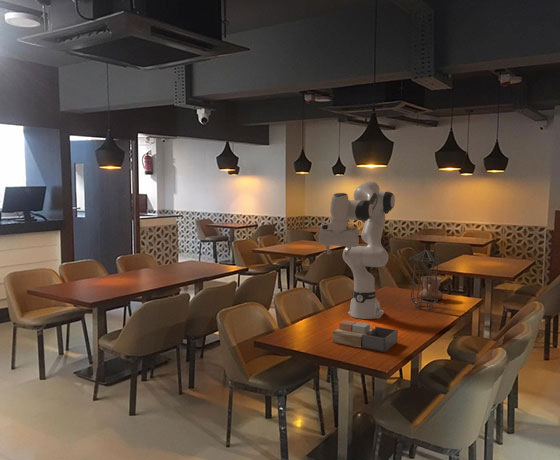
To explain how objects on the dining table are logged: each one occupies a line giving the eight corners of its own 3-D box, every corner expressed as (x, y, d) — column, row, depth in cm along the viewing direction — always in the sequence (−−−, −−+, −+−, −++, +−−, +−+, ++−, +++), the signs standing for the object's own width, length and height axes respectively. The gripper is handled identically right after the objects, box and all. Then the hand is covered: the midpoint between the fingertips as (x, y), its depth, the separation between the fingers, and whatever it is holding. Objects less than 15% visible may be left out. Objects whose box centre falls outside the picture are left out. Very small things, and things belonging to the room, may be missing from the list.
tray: (375, 338, 230) (375, 326, 230) (397, 342, 224) (397, 330, 224) (361, 347, 217) (361, 334, 216) (384, 352, 211) (385, 338, 211)
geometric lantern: (406, 308, 292) (408, 249, 290) (417, 304, 304) (419, 248, 302) (432, 312, 282) (434, 251, 280) (442, 308, 294) (444, 249, 292)
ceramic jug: (421, 295, 327) (421, 274, 325) (444, 297, 321) (444, 276, 319) (416, 301, 310) (417, 279, 309) (440, 303, 304) (441, 281, 303)
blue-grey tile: (357, 328, 229) (357, 322, 229) (369, 330, 226) (369, 324, 226) (352, 331, 224) (352, 325, 224) (364, 333, 221) (364, 327, 221)
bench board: (347, 333, 238) (347, 323, 238) (374, 338, 230) (374, 328, 230) (332, 342, 225) (332, 331, 224) (360, 347, 217) (361, 336, 217)
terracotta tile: (344, 326, 233) (344, 320, 233) (356, 328, 230) (356, 322, 229) (339, 329, 228) (339, 322, 228) (351, 331, 225) (351, 324, 224)
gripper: (361, 227, 234) (360, 256, 235) (323, 225, 245) (322, 252, 246) (356, 227, 229) (355, 257, 230) (317, 225, 240) (316, 253, 241)
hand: (338, 254), depth 238 cm, fingers open, 8 cm apart
